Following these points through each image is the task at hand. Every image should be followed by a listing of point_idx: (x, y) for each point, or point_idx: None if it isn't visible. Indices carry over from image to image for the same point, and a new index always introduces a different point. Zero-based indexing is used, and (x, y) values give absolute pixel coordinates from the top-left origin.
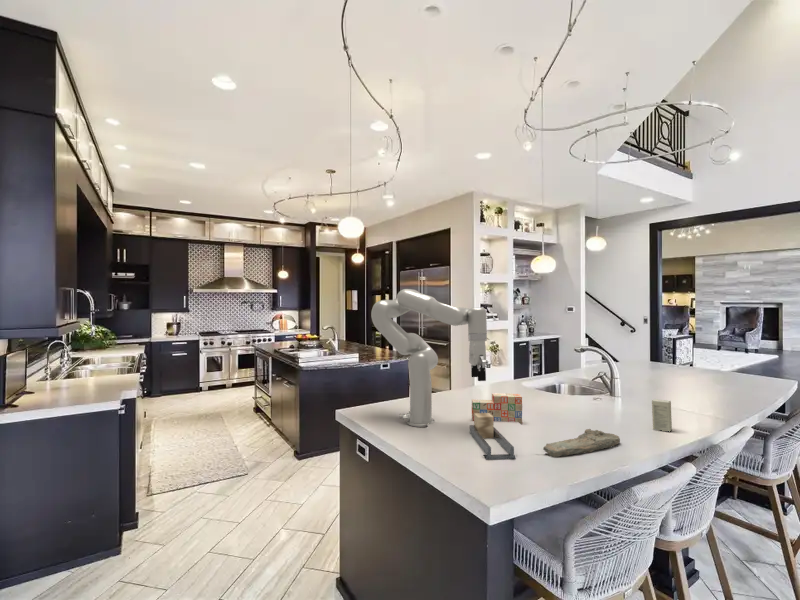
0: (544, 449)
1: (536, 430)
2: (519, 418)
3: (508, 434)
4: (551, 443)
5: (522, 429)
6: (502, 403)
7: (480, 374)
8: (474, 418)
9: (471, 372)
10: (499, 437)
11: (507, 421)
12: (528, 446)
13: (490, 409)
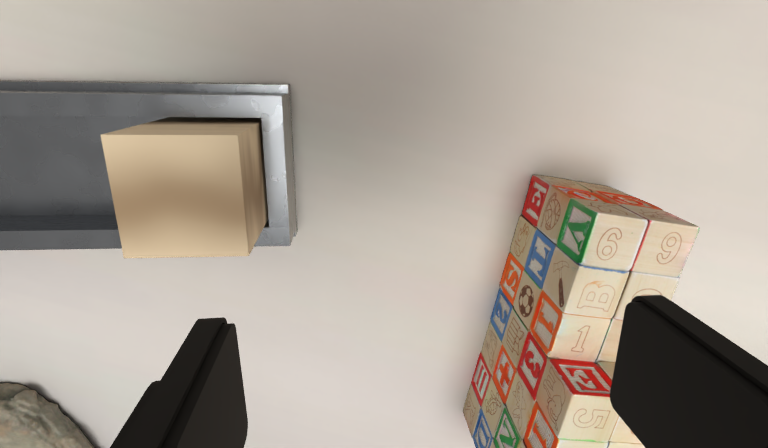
0: (19, 395)
1: (362, 443)
2: (473, 424)
3: (303, 309)
4: (44, 444)
5: (383, 392)
6: (532, 408)
7: (114, 444)
8: (234, 129)
9: (712, 333)
10: (56, 226)
11: (485, 359)
12: (114, 346)
13: (536, 311)
